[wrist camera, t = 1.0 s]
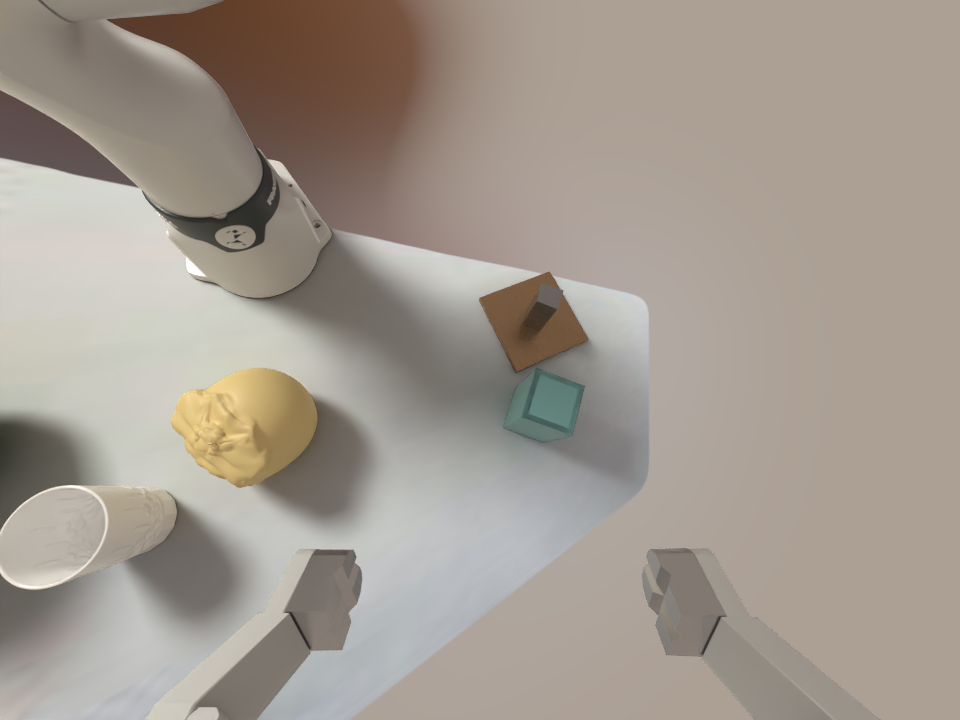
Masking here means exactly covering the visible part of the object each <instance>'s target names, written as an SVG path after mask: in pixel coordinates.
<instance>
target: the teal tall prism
mask: <svg viewBox="0 0 960 720" xmlns="http://www.w3.org/2000/svg"><path fill="white" fill-rule="evenodd" d="M584 387H585V386H583V385H580V384H578V383H575V382H572V381H570V380H567V379H564V378H562V377H559V376H556V375H554V374H551V373H548V372H546V371H543V370H540V369H538V368H536V369H535V370H534V371H533V372H532V373H531V374H530V375H529V376H528V377H527V378H526V379H524V380H523V381H522V382H521V383H520V384H519V385H518V386H517V387H516V389H515V392H514V395H513V398H512V401H511V404H510V407H509V410H508V414H507V417H506V420H505V423H504V426H503V428H506V429H509V430H511V431H514V432H517V433H519V434H522V435H525V436H527V437H530V438H533V439H536V440H538V441H541V442H548V441H552V440H556V439H560V438H565V437H569V436H572V435H573V431H574V427H575V423H576V419H577V415H578V411H579V407H580V403H581V399H582V395H583V391H584Z"/></svg>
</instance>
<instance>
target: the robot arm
mask: <svg viewBox="0 0 960 720" xmlns="http://www.w3.org/2000/svg"><path fill="white" fill-rule="evenodd" d="M221 1H224V0H0V90H1V91H4V92H5V93H7V94H9V95H11V96H13V97H15V98H17V99H19V100H21V101H23V102H24V103H26V104H28V105H30V106H32V107H34V108H36V109H37V110H39V111H41V112H43V113H44V114H46V115H48V116H50V117H51V118H53V119H55V120H56V121H58V122H60V123H61V124H63V125H64V126H66V127H67V128H69V129H71V130H72V131H73V132H75V133H76V134H78V135H79V136H81V137H82V138H83V139H84V140H86V141H87V142H88V143H90V144H91V145H92V146H93V147H95V148H96V149H97V150H98V151H99V152H100V153H101V154H103V155H104V156H105V157H106V158H107V159H108V160H110V161H111V162H112V163H113V164H114V165H115V166H116V167H117V168H119V169H120V170H121V171H122V172H123V173H124V174H125V175H126V176H127V177H128V178H130V179H131V180H132V181H133V182H134V183H135V184H136V185H137V186H138V187H139V188H140V189H141V190H142V192H143V194H144V196H145V198H146V199H147V201H148V202H149V203H150V204H151V205H152V207H153V208H154V210H155V211H156V212H157V213H158V214H159V215H160V216H161V217H162V218H163V219H164V220H165V222H166V224H167V229H168V231H167V232H166V234H167V236H168V238H169V239H170V240H171V241H172V242H173V243H174V244H175V245H176V246H177V248H178V249H179V250H180V251H181V252H182V253H183V254H184V255H185V256H186V269H187V271H188V273H189V274H190V275H191V276H192V277H194V278H196V279H199V280H203V281H209V282H214V283H216V284H218V285H220V286H221V287H223V288H225V289H226V290H228V291H230V292H232V293H235V294H237V295H241V296H245V297H252V298H263V297H271V296H275V295H279V294H282V293H285V292H287V291H289V290H291V289H293V288H294V287H296V286H297V285H299V284H300V283H301V282H302V281H304V280H305V279H306V278H307V276H308V275H309V274H310V273H311V271H312V270H313V268H314V266H315V264H316V261H317V258H318V255H319V252H320V250H321V249H322V248H323V247H324V246H325V245H326V244H327V243H328V241H329V240H330V239H331V236H332V233H331V230H330V229H329V227H328V226H327V224H326V223H325V222H324V220H323V219H322V217H321V216H320V215H319V214H318V212H317V211H316V209H315V208H314V207H313V205H312V204H311V202H310V201H309V199H308V198H307V197H306V195H305V194H304V193H303V191H302V190H301V188H300V187H299V186H298V184H297V183H296V182H295V180H294V179H293V177H292V176H291V175H290V173H289V172H288V171H287V169H286V168H285V166H284V165H283V164H282V163H281V162H279V161H274V160H267V158H266V157H265V156H264V154H263V153H262V152H261V150H259V149H258V148H256V147H255V146H254V145H253V144H252V142H251V141H250V139H249V137H248V135H247V133H246V131H245V130H244V127H243V126H242V124H241V122H240V120H239V118H238V116H237V115H236V113H235V111H234V109H233V107H232V105H231V103H230V101H229V100H228V98H227V96H226V94H225V92H224V91H223V90H222V88H221V87H220V86H219V85H218V84H217V82H215V80H214V79H213V78H212V77H211V76H210V75H209V74H208V73H206V72H205V71H204V70H203V69H202V68H201V67H199V66H198V65H197V64H196V63H194V62H193V61H192V60H190V59H189V58H187V57H186V56H184V55H183V54H181V53H179V52H177V51H175V50H173V49H171V48H169V47H166V46H164V45H162V44H159V43H156V42H154V41H151V40H148V39H145V38H143V37H140V36H137V35H135V34H132V33H130V32H128V31H126V30H123V29H121V28H119V27H118V26H116V25H114V24H112V23H111V22H109V21H107V20H106V19H112V18H125V17H138V16H151V15H163V14H176V13H188V12H192V11H195V10H198V9H201V8H204V7H206V6H209V5H212V4H215V3H218V2H221ZM317 226H320V227H319V228H316V227H317ZM646 557H647V560H648V563H649V564H648V565H646V566H645V567H644V568H643V573H642V582H643V589H644V592H645V597H646V600H647V602H648V605H649V607H650V608H651V609H652V610H653V611H654V612H655V613H656V614H657V615H658V618H657V621H656V628H657V630H658V633H659V636H660V639H661V642H662V644H663V647H664V650H665V652H666V655H677V656H699V657H701V656H702V660H703V661H704V662H705V663H706V664H707V666H708V667H709V668H710V669H711V670H712V671H713V673H714V674H715V675H716V676H717V677H718V678H719V679H720V681H721V682H722V683H723V684H724V685H725V686H726V687H727V689H728V690H729V691H730V692H731V693H732V694H733V696H734V697H735V698H736V699H737V700H738V701H739V703H740V704H741V705H742V706H743V707H744V708H745V709H746V711H747V712H748V713H749V714H750V715H751V716H752V717H753V719H754V720H880V719H879V718H878V717H877V716H875V715H874V714H873V713H872V712H870V711H869V710H868V709H867V708H866V707H865V706H863V705H862V704H861V703H860V702H858V701H857V700H856V699H855V698H854V697H853V696H851V695H850V694H849V693H848V692H847V691H845V690H844V689H843V688H842V687H841V686H839V685H838V684H837V683H835V682H834V681H833V680H832V679H831V678H830V677H828V676H827V675H826V674H825V673H824V672H822V671H821V670H820V669H819V668H818V667H816V666H815V665H814V664H813V663H812V662H810V661H809V660H808V659H807V658H806V657H804V656H803V655H802V654H801V653H800V652H798V651H797V650H796V649H795V648H794V647H792V646H791V645H790V644H789V643H787V642H786V641H785V640H784V639H783V638H782V637H780V636H779V635H778V634H777V633H775V632H774V631H773V630H772V629H771V628H769V627H768V626H767V625H766V624H765V623H764V622H762V621H761V620H760V619H759V618H758V617H751V616H750V615H749V613H748V611H747V609H746V608H745V606H744V604H743V603H742V601H741V599H740V597H739V596H738V594H737V592H736V591H735V589H734V587H733V585H732V584H731V582H730V580H729V579H728V577H727V575H726V573H725V572H724V570H723V568H722V567H721V565H720V563H719V561H718V560H717V558H716V556H715V555H714V553H712V551H711V550H709V549H687V548H682V549H650V550H649V551H648V553H647V556H646ZM355 560H356V555H355V552H354V550H319V549H299V550H298V551H297V552H296V553H295V555H294V556H293V557H292V559H291V561H290V563H289V565H288V567H287V569H286V571H285V573H284V575H283V576H282V578H281V580H280V582H279V584H278V586H277V588H276V590H275V592H274V594H273V595H272V597H271V599H270V601H269V603H268V605H267V607H266V609H265V611H264V612H259V613H257V614H256V615H255V616H254V617H253V618H251V619H250V620H249V621H248V622H247V623H246V624H245V625H244V626H242V627H241V628H240V629H239V630H238V631H237V632H236V633H235V634H233V635H232V636H231V637H230V638H229V639H228V640H227V641H225V642H224V643H223V644H222V645H221V646H220V647H219V648H218V649H216V650H215V651H214V652H213V653H212V654H211V655H210V656H209V657H207V658H206V659H205V660H204V661H203V662H202V663H201V664H200V665H198V666H197V667H196V668H195V669H194V670H193V671H192V672H191V673H189V674H188V675H187V676H186V677H185V678H184V679H183V680H182V681H180V682H179V683H178V684H177V685H176V686H175V687H174V688H172V689H171V690H170V691H169V692H168V693H167V694H166V695H165V696H163V697H162V698H161V699H160V700H159V701H158V702H157V703H156V704H155V705H154V707H153V708H152V710H151V711H150V713H149V715H148V716H147V718H146V719H145V720H257V718H258V717H259V716H260V715H261V713H262V712H263V711H264V710H265V708H266V707H267V706H268V705H269V704H270V702H271V701H272V700H273V699H274V697H275V696H276V695H277V694H278V692H279V691H280V690H281V689H282V687H283V686H284V685H285V684H286V683H287V681H288V680H289V679H290V678H291V676H292V675H293V674H294V673H295V671H296V670H297V669H298V668H299V667H300V665H301V664H302V663H303V662H304V660H305V659H306V658H307V657H308V655H309V654H310V651H315V650H342V649H343V646H344V643H345V639H346V636H347V633H348V630H349V627H350V624H351V619H350V616H349V611H350V610H351V609H352V608H353V607H354V606H355V605H356V604H357V602H358V598H359V595H360V592H361V584H362V572H361V569H360V567H359V566H358V565H357V564H355Z"/></svg>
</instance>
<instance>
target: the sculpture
mask: <svg viewBox="0 0 960 720" xmlns="http://www.w3.org/2000/svg"><path fill="white" fill-rule="evenodd" d="M171 425H172V427H173V429H174V430H175V431H176V432H178V433H179V434H180V435H181V436H183V437H184V441H185V447H186V450H187V452H188V453H190V454H191V455H192V456H193V458H195V461H196V463H197V464H198V465H199V466H201V467H204V468H205V469H206V470H207V471H208V472H209V473H211V474H212V475H215V476H217V477H219V478H222V479H227V480H228V481H229V482H230V483H232V484H234V485H235V486H237V487H239V488H242V487H246V486H252V485H254V484H259V483H260V482H262V481H263V480H264V479H266V478H268V477H269V476H271V475H273V474H275V473H277V472H279V471H280V470H282V469H283V468H284V467H286V466H287V465H288V464H290V463H291V462H292V461H294V460H295V459H296V458H297V457H298V456H299V455H300V454H301V453H302V452H303V451H304V450H305V449H306V447H307V446H308V444H309V443H310V441H311V440H312V438H313V435H314V433H315V430H316V426H317V409H316V406H315V403H314V401H313V399H312V397H311V395H310V394H309V392H308V391H307V390H306V389H305V388H304V387H303V386H302V385H301V384H300V383H299V382H298V381H297V380H295V379H294V378H292V377H290V376H289V375H287V374H285V373H282V372H280V371H276V370H272V369H267V368H252V369H246V370H242V371H238V372H235V373H233V374H231V375H228V376H226V377H225V378H223V379H221V380H220V381H218V382H217V383H215V384H214V385H212V386H211V387H209V388H208V389H206V390H192V391H188V392H186V393H185V394H183V395H182V397H181V398H180V400H179V401H178V403H177V406H176V412H175V413H174V414H173V416H172V419H171Z"/></svg>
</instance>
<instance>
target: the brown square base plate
mask: <svg viewBox="0 0 960 720" xmlns="http://www.w3.org/2000/svg"><path fill="white" fill-rule="evenodd" d="M562 293H563V290H560V289H559V287H558V285H557V284H556V282H555V280H554V278H553V277H552V275H551V273H550V272H547V273H544V274H542V275H539V276H536V277H534V278H531V279H528V280H526V281H523V282H520V283H518V284H515V285H513V286H510V287H507V288H505V289H502V290H499V291H497V292H494V293H491V294H489V295H486V296H483V297H481V298H480V299H479V301H480V303H481V305H482V307H483V309H484V311H485V313H486V315H487V317H488V319H489V321H490V323H491V325H492V327H493V329H494V331H495V333H496V335H497V337H498V339H499V341H500V342H501V344H502V346H503V348H504V350H505V352H506V354H507V356H508V358H509V360H510V362H511V364H512V366H513V368H514V370H515V372H518V371H521V370H523V369H525V368H527V367H530V366H532V365H534V364H536V363H538V362H541V361H543V360H545V359H547V358H550V357H552V356H554V355H556V354H559V353H561V352H563V351H565V350H567V349H570V348H572V347H574V346H576V345H579V344H581V343H583V342H585V341H587V340H588V338H587V336H586V335H585V333H584V331H583V329H582V327H581V326H580V324H579V322H578V320H577V319H576V317H575V315H574V313H573V312H572V310H571V308H570V306H569V305H568V303H567V301H566V299H565V298H564V296H563V294H562Z"/></svg>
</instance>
